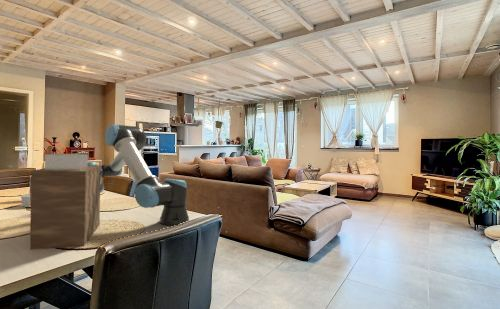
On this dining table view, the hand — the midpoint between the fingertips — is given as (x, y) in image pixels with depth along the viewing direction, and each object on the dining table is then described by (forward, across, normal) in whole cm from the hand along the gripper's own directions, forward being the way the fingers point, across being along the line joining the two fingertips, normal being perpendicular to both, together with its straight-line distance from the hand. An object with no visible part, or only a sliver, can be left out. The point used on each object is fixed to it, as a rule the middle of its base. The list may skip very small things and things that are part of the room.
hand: (84, 163), depth 140 cm
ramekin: (-52, +37, -5) cm, 64 cm away
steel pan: (+15, 0, -9) cm, 18 cm away
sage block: (+25, 0, -12) cm, 28 cm away
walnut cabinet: (+5, 0, -38) cm, 39 cm away
